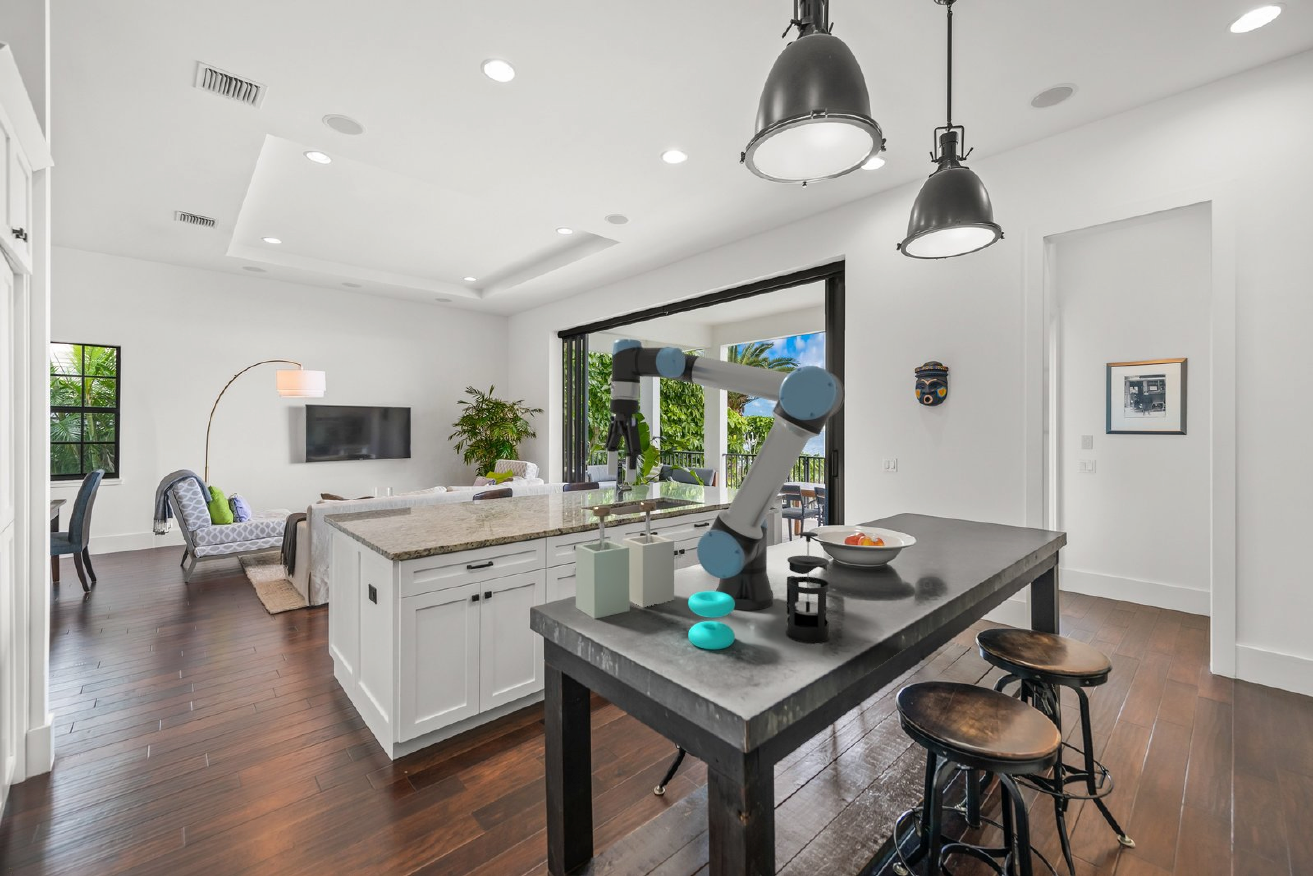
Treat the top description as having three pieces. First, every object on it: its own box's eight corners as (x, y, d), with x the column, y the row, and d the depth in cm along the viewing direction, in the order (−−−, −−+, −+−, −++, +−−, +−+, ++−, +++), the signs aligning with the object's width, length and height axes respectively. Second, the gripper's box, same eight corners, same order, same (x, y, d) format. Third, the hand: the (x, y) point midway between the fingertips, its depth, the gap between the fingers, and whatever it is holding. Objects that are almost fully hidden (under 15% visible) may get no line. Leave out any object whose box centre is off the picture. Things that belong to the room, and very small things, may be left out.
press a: (674, 600, 147) (674, 540, 147) (642, 607, 142) (642, 545, 141) (653, 591, 156) (652, 534, 155) (622, 597, 150) (622, 538, 149)
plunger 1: (620, 560, 140) (619, 507, 139) (596, 564, 136) (596, 510, 135) (607, 555, 145) (606, 504, 145) (584, 559, 141) (584, 506, 141)
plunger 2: (665, 553, 147) (665, 503, 147) (644, 556, 144) (644, 505, 143) (651, 548, 153) (651, 500, 153) (631, 551, 149) (630, 502, 149)
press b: (629, 610, 139) (629, 547, 139) (594, 618, 134) (594, 553, 133) (609, 600, 148) (609, 540, 147) (575, 607, 142) (575, 545, 142)
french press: (841, 640, 120) (842, 535, 119) (806, 648, 116) (807, 539, 116) (805, 622, 131) (806, 526, 130) (772, 629, 127) (773, 529, 126)
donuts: (713, 607, 112) (678, 596, 119) (713, 656, 112) (678, 641, 120) (744, 596, 119) (709, 586, 126) (744, 642, 119) (709, 630, 127)
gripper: (595, 397, 156) (592, 472, 157) (629, 398, 134) (625, 485, 135) (620, 399, 159) (617, 472, 161) (657, 399, 137) (653, 485, 138)
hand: (620, 478), depth 148 cm, fingers open, 13 cm apart
